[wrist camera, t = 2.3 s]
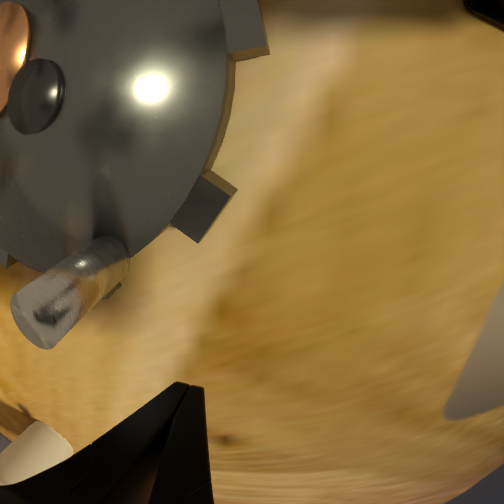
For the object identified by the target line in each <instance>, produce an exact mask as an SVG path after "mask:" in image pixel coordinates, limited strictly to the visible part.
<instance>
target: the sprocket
mask: <svg viewBox="0 0 504 504" xmlns="http://www.w3.org/2000/svg"><path fill="white" fill-rule="evenodd" d="M265 55H270V51H269V46H268V41H267V36H266V31H265V26H264V21H263V17H262V12H261V7H260V4H259V1H258V0H0V263H1V264H2V265H3V267H4V268H5V269H6V268H8V267H9V266H11V265H12V264H14V263H16V262H17V261H19V262H21V263H22V264H24V265H26V266H28V267H30V268H32V269H34V270H37V271H40V272H43V274H41V275H40V276H39V277H37V278H36V279H34V280H33V281H31V282H30V283H29V284H27V285H26V286H24V287H23V288H22V289H20V290H19V291H18V292H16V293H15V294H14V295H13V296H12V298H11V311H12V315H13V318H14V320H15V322H16V324H17V326H18V328H19V329H20V331H21V332H22V333H23V335H24V336H25V337H26V338H27V339H28V340H29V341H30V342H32V343H33V344H34V345H36V346H38V347H40V348H42V349H51V348H53V347H54V346H55V345H56V344H57V343H58V342H59V341H60V340H61V339H62V338H63V337H64V336H65V335H66V334H67V333H68V332H69V331H70V330H71V329H72V328H73V327H74V326H75V325H76V324H77V323H78V322H79V321H80V320H81V319H82V318H83V317H84V316H85V315H86V314H87V313H88V312H89V311H90V310H91V309H92V308H93V307H94V306H95V305H96V304H97V303H98V302H99V301H100V300H101V299H108V298H109V297H110V296H111V295H112V294H113V293H114V292H115V291H116V290H117V289H118V288H119V287H120V286H121V283H120V281H121V280H122V279H123V278H124V277H125V276H126V275H127V274H128V272H129V269H130V258H131V257H133V256H134V255H135V254H136V253H138V252H139V251H140V250H141V249H143V248H144V247H145V246H146V245H148V244H149V243H150V242H151V241H153V240H154V239H155V238H156V237H158V236H159V235H160V234H161V233H162V232H164V231H165V230H166V229H167V228H168V227H169V226H170V225H171V224H172V225H173V226H174V227H176V228H177V229H179V230H180V231H181V232H183V233H184V234H185V235H187V236H188V237H190V238H191V239H192V240H194V241H195V242H196V243H199V242H200V241H201V240H202V238H203V237H204V236H205V235H206V234H207V233H208V231H209V230H210V228H211V227H212V226H213V224H214V223H215V221H216V220H217V218H218V217H219V216H220V214H221V213H222V211H223V210H224V208H225V207H226V206H227V204H228V203H229V201H230V200H231V199H232V197H233V196H234V194H235V193H236V192H237V190H238V189H237V188H235V187H234V186H232V185H231V184H230V183H228V182H227V181H225V180H224V179H223V178H221V177H220V176H218V175H217V174H216V173H214V172H213V171H211V168H212V166H213V164H214V161H215V159H216V157H217V154H218V152H219V150H220V147H221V145H222V142H223V139H224V135H225V132H226V128H227V125H228V122H229V118H230V114H231V108H232V102H233V96H234V90H235V64H236V61H237V60H242V59H247V58H253V57H259V56H265Z"/></svg>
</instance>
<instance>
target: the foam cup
mask: <svg viewBox="0 0 504 504" xmlns="http://www.w3.org/2000/svg"><path fill="white" fill-rule="evenodd" d="M73 453H74V451H73V448H72V446H71V445H70V444H69V443H68V441H67V440H66V439H65V438H64V437H62V436H61V435H60V434H59V433H58V432H57V431H55V430H54V429H52V428H51V427H50V426H48V425H46V424H44V423H42V422H40V421H34V423H33V424H31V425H30V426H29V427H28V428H27V429H26V430H25V431H23V432H22V433H21V434H20V435H19V436H18V437H17V438H16V439H15V440H14V441H13V442H12V443H11V444H10V445H9V446H8V447H7V448H6V449H5V450H4V451H3V452H2V453H1V454H0V485H10V484H14V483H18V482H20V481H23V480H25V479H27V478H29V477H32V476H34V475H36V474H38V473H40V472H42V471H44V470H47V469H49V468H51V467H53V466H55V465H57V464H58V463H60V462H62V461H64V460H66V459H68V458H69V457H71V456H72V455H73Z"/></svg>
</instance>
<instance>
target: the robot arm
mask: <svg viewBox="0 0 504 504" xmlns="http://www.w3.org/2000/svg"><path fill="white" fill-rule="evenodd" d="M463 2H464V6H465V7H466V9H467V10H468V11H469V12H471V13H473V14H475V15H477V16H480V17H482V18H484V19H486V20H488V21H490V22H492V23H494V24H496V25H498V26H500V27H502V28H504V0H463ZM471 2H472V3H474V5H475V7H474V6H473V5H472V4H471ZM0 504H214V499H213V491H212V483H211V473H210V462H209V451H208V438H207V425H206V411H205V395H204V388H203V387H200V386H195V385H189V384H187V383H182V382H174V383H173V384H172V385H170V386H169V387H168V388H166V389H165V390H164V391H162V392H161V393H160V394H158V395H157V396H156V397H154V398H153V399H152V400H150V401H149V402H148V403H146V404H145V405H144V406H142V407H141V408H140V409H138V410H137V411H136V412H134V413H133V414H131V415H130V416H129V417H127V418H126V419H125V420H123V421H122V422H120V423H119V424H118V425H116V426H115V427H113V428H112V429H111V430H109V431H108V432H106V433H105V434H104V435H102V436H101V437H99V438H98V439H97V440H95V441H94V442H92V445H91V444H89V445H88V446H86V447H85V448H83V449H82V450H80V451H79V452H77V453H76V454H74V455H72V456H71V457H69V458H68V459H66V460H64V461H62V462H60V463H58V464H57V465H55V466H53V467H51V468H49V469H47V470H44V471H42V472H40V473H38V474H36V475H34V476H32V477H29V478H27V479H25V480H23V481H20V482H18V483H14V484H10V485H0Z"/></svg>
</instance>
